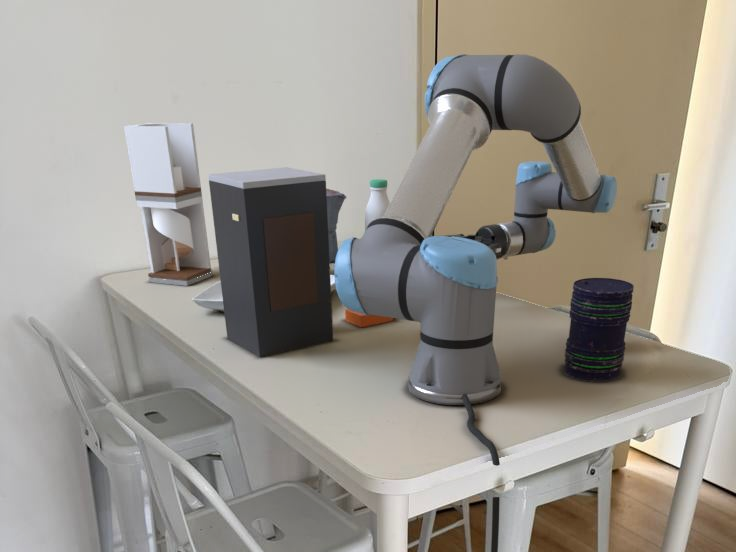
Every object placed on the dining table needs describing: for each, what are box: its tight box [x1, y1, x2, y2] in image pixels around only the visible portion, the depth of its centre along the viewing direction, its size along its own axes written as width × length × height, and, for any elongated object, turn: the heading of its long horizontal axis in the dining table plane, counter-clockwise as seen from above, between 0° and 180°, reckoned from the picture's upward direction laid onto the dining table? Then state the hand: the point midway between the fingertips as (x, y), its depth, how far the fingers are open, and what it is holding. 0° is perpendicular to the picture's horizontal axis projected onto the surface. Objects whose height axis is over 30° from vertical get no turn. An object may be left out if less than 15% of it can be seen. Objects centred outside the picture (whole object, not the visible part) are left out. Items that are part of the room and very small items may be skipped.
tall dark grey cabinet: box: [207, 167, 334, 358], centre depth 144 cm, size 16×14×30 cm
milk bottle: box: [364, 178, 391, 231], centre depth 208 cm, size 8×8×20 cm
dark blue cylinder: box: [563, 277, 635, 383], centre depth 130 cm, size 10×10×15 cm
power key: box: [344, 308, 394, 328], centre depth 164 cm, size 21×6×2 cm, turn 125°
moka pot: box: [326, 188, 347, 263], centre depth 207 cm, size 10×15×20 cm, turn 78°
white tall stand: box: [123, 122, 213, 287], centre depth 186 cm, size 11×11×35 cm
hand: (422, 254), depth 163 cm, fingers open, 13 cm apart
